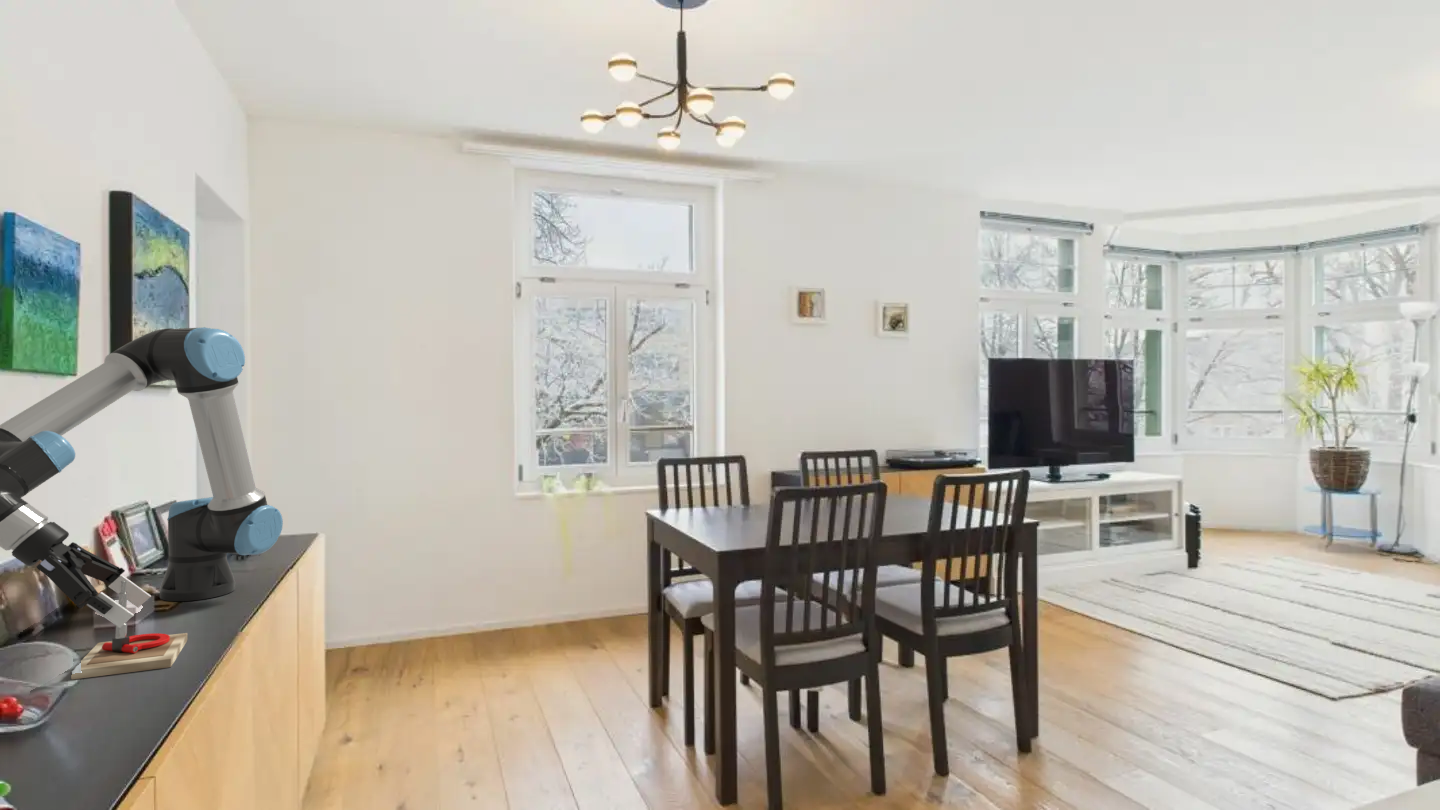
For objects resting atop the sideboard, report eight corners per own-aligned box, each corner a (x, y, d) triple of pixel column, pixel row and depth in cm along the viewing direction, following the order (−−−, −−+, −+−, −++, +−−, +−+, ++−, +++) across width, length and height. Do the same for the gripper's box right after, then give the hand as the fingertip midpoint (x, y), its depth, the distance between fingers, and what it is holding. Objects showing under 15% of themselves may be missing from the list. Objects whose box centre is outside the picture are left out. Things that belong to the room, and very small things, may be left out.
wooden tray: (98, 650, 144) (98, 642, 144) (187, 640, 150) (187, 632, 150) (71, 679, 130) (71, 670, 130) (170, 667, 136) (170, 658, 136)
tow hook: (144, 637, 148) (96, 651, 139) (147, 571, 148) (100, 580, 139) (180, 641, 146) (135, 655, 137) (183, 573, 147) (138, 583, 138)
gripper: (36, 539, 143) (134, 609, 150) (-21, 567, 121) (98, 648, 128) (72, 509, 145) (167, 580, 152) (23, 532, 123) (137, 613, 130)
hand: (136, 611), depth 140 cm, fingers open, 13 cm apart
